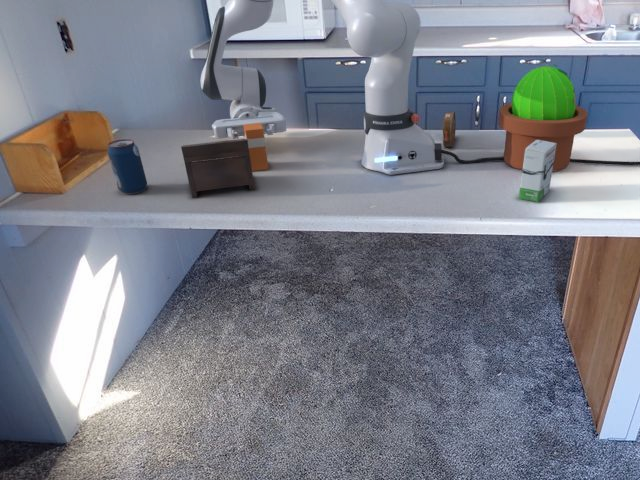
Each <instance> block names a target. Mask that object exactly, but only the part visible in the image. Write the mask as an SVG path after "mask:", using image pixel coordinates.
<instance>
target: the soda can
mask: <svg viewBox="0 0 640 480" xmlns="http://www.w3.org/2000/svg"><path fill="white" fill-rule="evenodd" d="M107 145H108V146H107V147H108V148H107V151H106V152H107V156H108V159H109V163H110V166H111V169H112V173H113V177H114V180H115V183H116V187H117V189H118V190H119V191H120V192H121V193H122V194H124V195H137V194H140V193H142V192H144V191H145V190H146V189H147V186H148V181H147V177H146V173H145V169H144V166H143V162H142V158H141V154H140V149H139V147H138V146H137V144H136V143H135V141H134V140H133V139H131V138H129V139H128V138H127V139H126V138H124V139H123V138H122V139H116V140H113V141H110V142H108V144H107Z"/></svg>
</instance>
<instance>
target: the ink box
mask: <svg viewBox="0 0 640 480" xmlns="http://www.w3.org/2000/svg"><path fill="white" fill-rule="evenodd" d="M556 145H557V143H553V142H548V141H542V140H535V141H534V142H533V143H532V144H530V145H529V146H528V147H527V148H526V149H525V155H524V162H523V170H521V172H522V173H521V179H520V187H519V194H518V199H520V200H526V201H531V202H536V203H539V202H540V201H541V200H542V199H543V198H544V197H545V195H547V193H549V191H550V187H551V180H552V175H553V171H552V169H553V163H554V157H555V151H556Z"/></svg>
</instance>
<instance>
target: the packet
mask: <svg viewBox="0 0 640 480" xmlns="http://www.w3.org/2000/svg"><path fill="white" fill-rule="evenodd" d="M244 131H245V137H244V139H247V140H248V147H249V153H250V160H251V167H252V172H257V171H259V172H260V171H267V170H269V162H268V155H267V147H266V139H265V134H264V131H263V127H262V125H261V123H254V124H244Z"/></svg>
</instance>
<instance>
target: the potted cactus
mask: <svg viewBox="0 0 640 480" xmlns="http://www.w3.org/2000/svg"><path fill="white" fill-rule="evenodd" d="M554 66H555V67H554ZM554 66H548V65H545V66H539V65H536V68H533V69H531V70H530V71H529V72H527V73H526V74H525V75H523V76H522V77H521V78H520V79H519V81H518V83H516V86H515V87H514V90H512V89H511V91H512V92H513V93H512V98H511V102H508V103H506V104H503V105H502V106H501V107H500V108H499V110H498V111H499V112H498V121H497V123H498V126H499V128H501V129H502V131H503V130H504V131H505V141H504V149H503V157H504V160H503V161H504V163H505V164H507V165H508V166H509V167H511V168H514V169H517V170H521V171H522V170H523V162H524V155H525V149H526V148H527V147H528V146H529V145H530V144H532V143H533V142H534V141H535V140H542V141H548V142H553V143H557V145H556V151H555V157H554V163H553V169H552V172H558V171H561V170H564V169H566V168H567V167H568V166H569V165H570V163H571V162H570V159H572V152H573V145H574V141H575V136H576V135H579V134H581V133H583V132H584V131H585V129H586V126H587V120H588V116H589V115H588V114H589V113H588V111H587V110H586V109H585V108H583V107H581V106H579V105H576V104H577V103H576V102H577V99H576V96H577V95H576V92H575V87H574V85H573V84H574V81H572V78H571V77H570V75H568V73H567V72H566V71H565V70H563V69H562V68H561V67H560V66H558V65H556V64H554Z"/></svg>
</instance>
